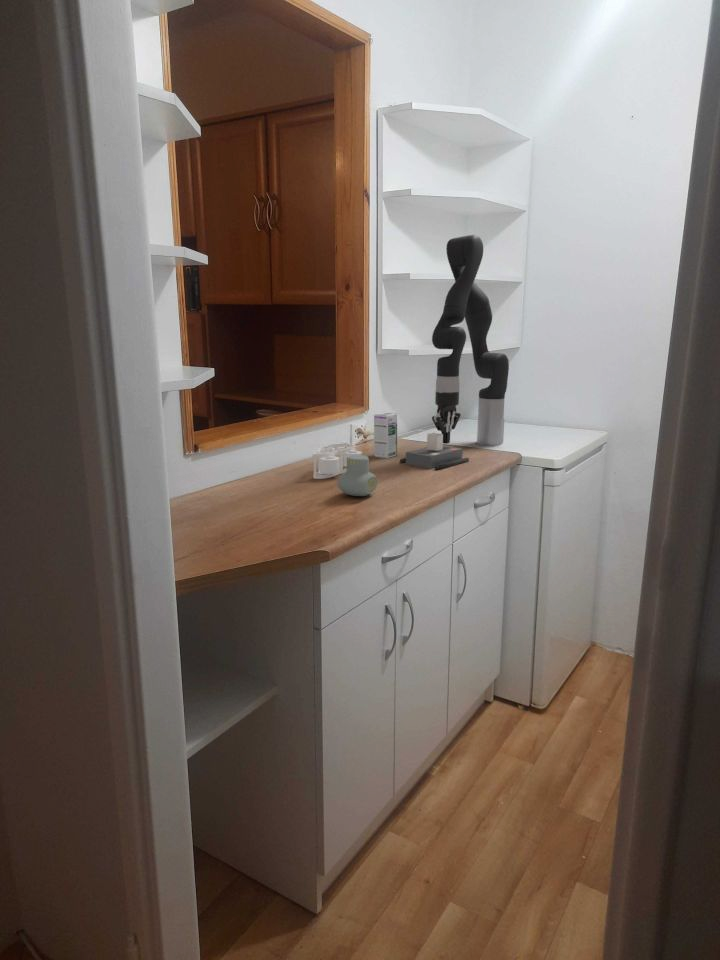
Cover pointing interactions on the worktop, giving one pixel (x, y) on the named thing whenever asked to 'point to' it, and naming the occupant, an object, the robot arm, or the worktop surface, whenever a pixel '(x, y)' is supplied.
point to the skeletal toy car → (332, 459)
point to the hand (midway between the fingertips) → (445, 443)
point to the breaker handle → (435, 441)
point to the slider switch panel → (444, 463)
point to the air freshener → (357, 477)
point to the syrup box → (385, 435)
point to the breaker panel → (433, 456)
